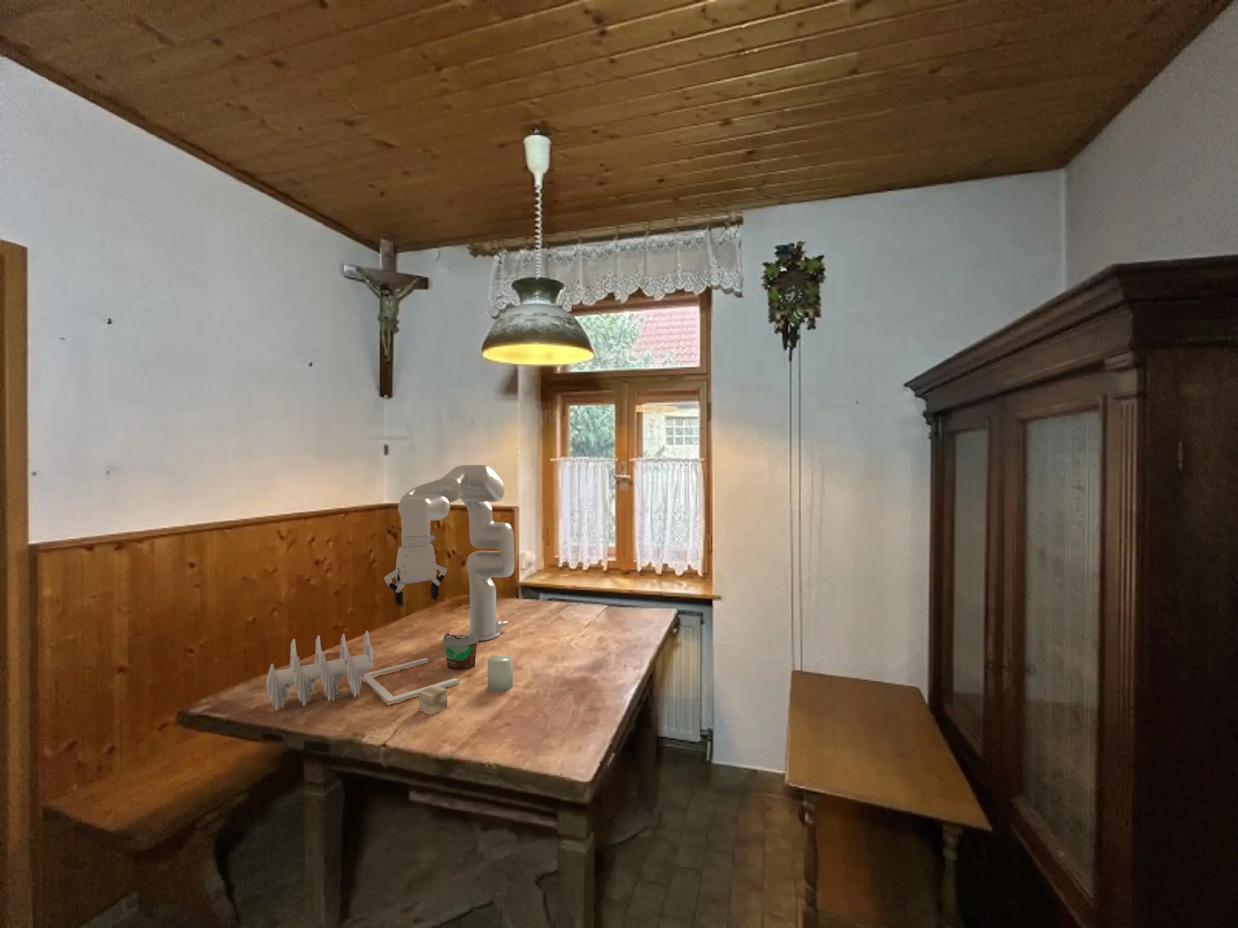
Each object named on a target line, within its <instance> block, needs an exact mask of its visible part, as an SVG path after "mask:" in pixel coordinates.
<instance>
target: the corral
mask: <svg viewBox="0 0 1238 928" xmlns="http://www.w3.org/2000/svg"><path fill="white" fill-rule="evenodd" d="M426 662H428V663H429V659H428V657H423V658H420V659H416V660H412V661H409V662H408V661H407V662H404V663H401V664H397V665H393V666H389V667H386V668H381V669H378V670H375V671H371V672H365V676H364V677H362V678H363V679H364V680H365V681H366V682H367V683H368V684H369V685H370V686H371V687H372V688H374V690H376V692H378V694H380V696H382V698H383V699H385V700H386V701H387V702H388V703H393V702H396V701H400V700H402V699H407V698H411V697H413V696H418V695H419V692H420V691H422V690H425V689H427V688H429V687H431V686H434V685H436V686H439V687H442V688H445V689H447V688H446V687H448V688H450V687H453V686H458V685H459V684H460V679H458V678H457V677H454V678H451V679H448V680H444V681H440V682H437V683H435V684H430V685H427V686H424V687H421V688H418V689H415V690H412V691H408V692H404V693H401V694H398V695H395V696H393V694H391V693H390V692H389V691H388V689H386V688H385V687H384V686H382V685H381V683H379V682H378V681H377V680H376V679H375V678H373V677H371V676H375V675H378V674H383V673H386V672H391V671H393V670H398V669H403V668H405V667H410V666H413V665H418V664H421V663H426Z"/></svg>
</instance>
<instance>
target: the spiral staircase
mask: <svg viewBox="0 0 1238 928" xmlns="http://www.w3.org/2000/svg"><path fill="white" fill-rule="evenodd" d="M363 635H364V638H363V642H362V645H363V647H362V649H363V651H362V654H359V655H355V656H354V655H353V656H351V653H350V651H349V648H348V647H347V642H346V635H345V633H342V635H341V638H340V647H339V648H340V649H339V658H338V659H333V660H328V661H327V660H326V659H327V658H326V656H325V653H323V651H322V647H321V636H320V635H317V638H316V639H315V649H314V651H315V652H314V659H313V660H314V661H313V663H311V664H307V665H301V661H300V657H299V656H298V655H297V646H296V638H293V639H292V641H291V643H290V654H289V656H290V657H289V658H290V659H289V667H288V668H285V669H280V670H276V669H275V666H274V663H270V667H269V671H268V673H267V674H268V675H267V678H266V680H265V681H266V683H265V688H266V692H267V694H266V695H267V697H269V701H270V704H271V705H272V707H274V706H275V707H274V708H275V710H276V711H277V710H279V709H280V708H281V707H280V705H283V703H284V701H285V702H286V700H285V699H286V698H288V699H289V695H290V694H289V691H290V688H291V687H292V684H293V686H294V692H295V695H297V699H298V701H299V702H300V703H302V706H306V705H307V703H308V701H307V700H309V699H310V696H311V697H312V694H314V693H313V692H314V689H315V688H314V686H315V685H314V684H316V683H317V679H320V681H321V687H323V692H324V695H325V697H326V698H327V700H328V701H331V700H332V699H334V698H335V699H336V695H335V694H336V693H337V692H338V693H339V683H340V682H341V680H342V677H344V674H346V680H347V685H349V689H350V692H351V694H353V698H356V697H357V694H359V695H360V691H359V690H361V689H362V680H361V678H362V677H364V676H365V674H366V673H367V670H368V669H373V668H374V657H373V655H374V654H373V647H372V644H371V643H370V642H371V641H370V633H369V630H365V633H364V634H363ZM360 688H361V689H360ZM310 700H311V699H310ZM306 702H307V703H306ZM279 707H280V708H279Z"/></svg>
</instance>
